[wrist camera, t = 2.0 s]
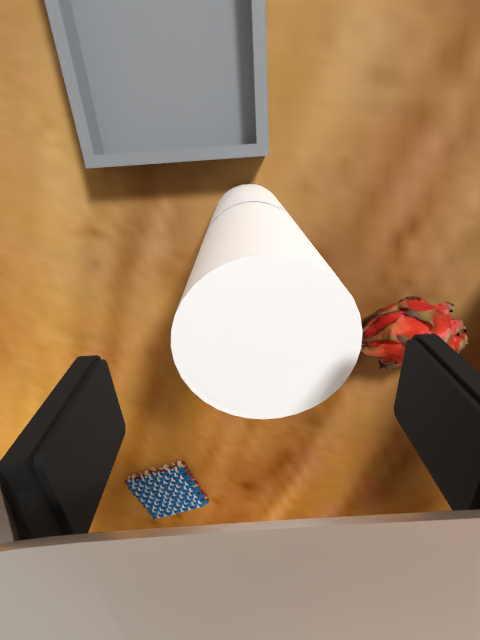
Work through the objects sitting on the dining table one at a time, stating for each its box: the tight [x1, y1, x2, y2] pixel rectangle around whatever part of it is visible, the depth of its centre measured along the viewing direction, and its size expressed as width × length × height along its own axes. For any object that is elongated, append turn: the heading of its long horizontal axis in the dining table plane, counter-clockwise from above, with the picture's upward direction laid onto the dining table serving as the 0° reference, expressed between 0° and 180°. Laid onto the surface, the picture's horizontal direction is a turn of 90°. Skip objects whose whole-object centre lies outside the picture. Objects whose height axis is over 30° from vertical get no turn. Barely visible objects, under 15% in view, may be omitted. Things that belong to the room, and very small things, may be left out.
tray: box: [44, 0, 269, 169], centre depth 26 cm, size 16×22×4 cm
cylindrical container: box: [171, 184, 363, 419], centre depth 24 cm, size 7×7×25 cm
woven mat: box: [125, 460, 209, 519], centre depth 53 cm, size 10×11×2 cm
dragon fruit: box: [360, 296, 468, 369], centre depth 37 cm, size 8×8×12 cm
